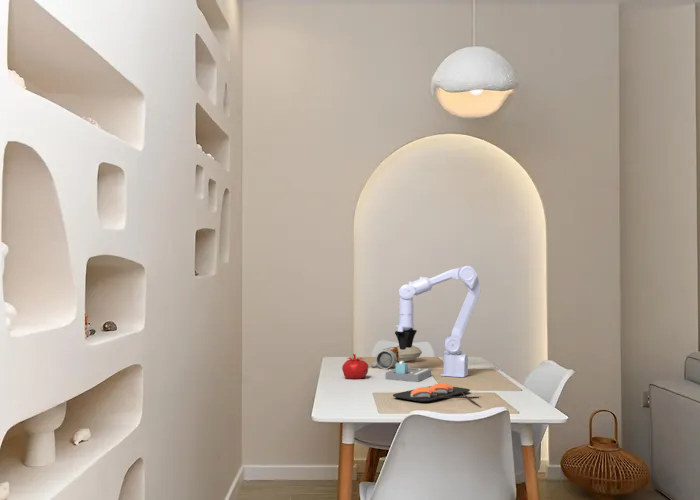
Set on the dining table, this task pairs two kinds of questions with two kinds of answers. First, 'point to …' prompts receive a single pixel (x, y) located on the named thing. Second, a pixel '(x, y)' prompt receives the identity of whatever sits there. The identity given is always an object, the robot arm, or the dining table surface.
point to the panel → (409, 375)
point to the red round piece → (355, 368)
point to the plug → (402, 367)
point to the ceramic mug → (385, 359)
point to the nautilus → (406, 353)
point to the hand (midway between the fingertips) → (405, 348)
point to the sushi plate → (434, 393)
